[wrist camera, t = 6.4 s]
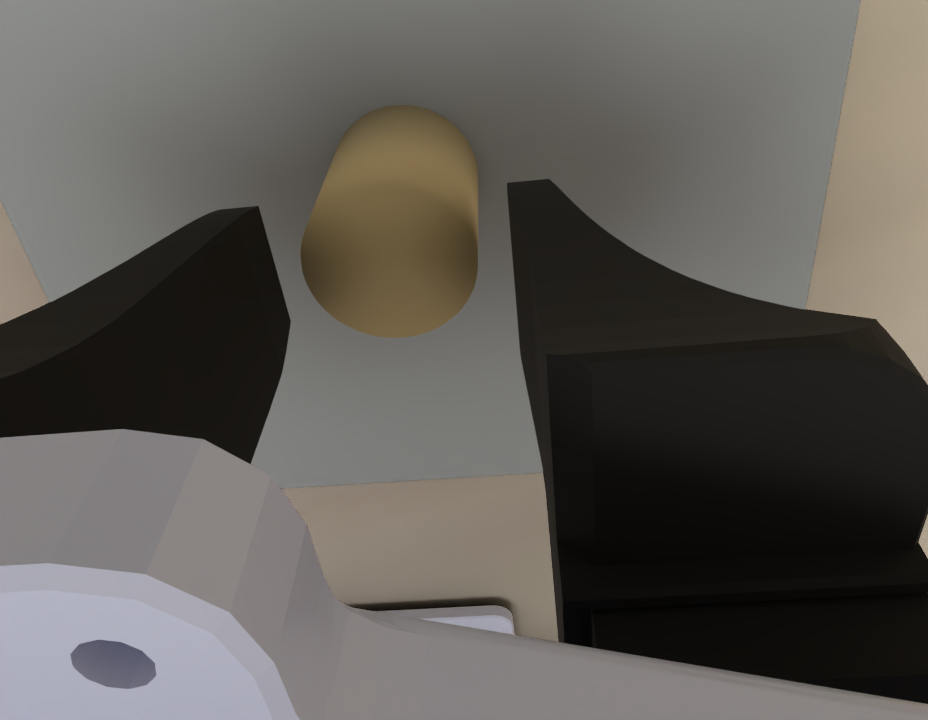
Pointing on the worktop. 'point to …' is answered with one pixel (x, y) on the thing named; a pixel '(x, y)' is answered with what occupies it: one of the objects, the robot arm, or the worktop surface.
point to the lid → (419, 178)
